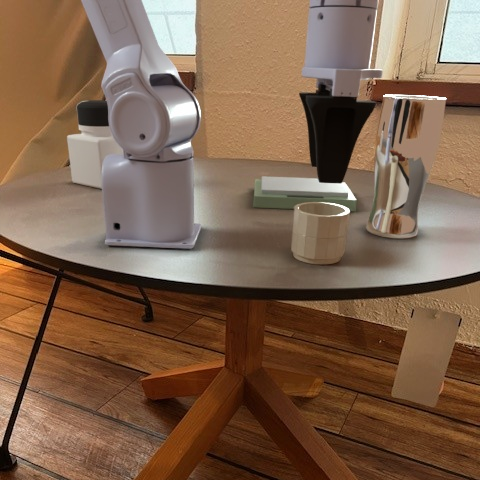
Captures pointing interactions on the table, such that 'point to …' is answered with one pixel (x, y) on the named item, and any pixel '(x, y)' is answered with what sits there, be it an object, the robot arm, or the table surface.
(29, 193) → the table surface
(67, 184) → the table surface
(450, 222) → the table surface
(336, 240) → the cup
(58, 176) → the table surface
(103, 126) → the medicine bottle
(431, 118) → the beer glass
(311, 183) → the scale
